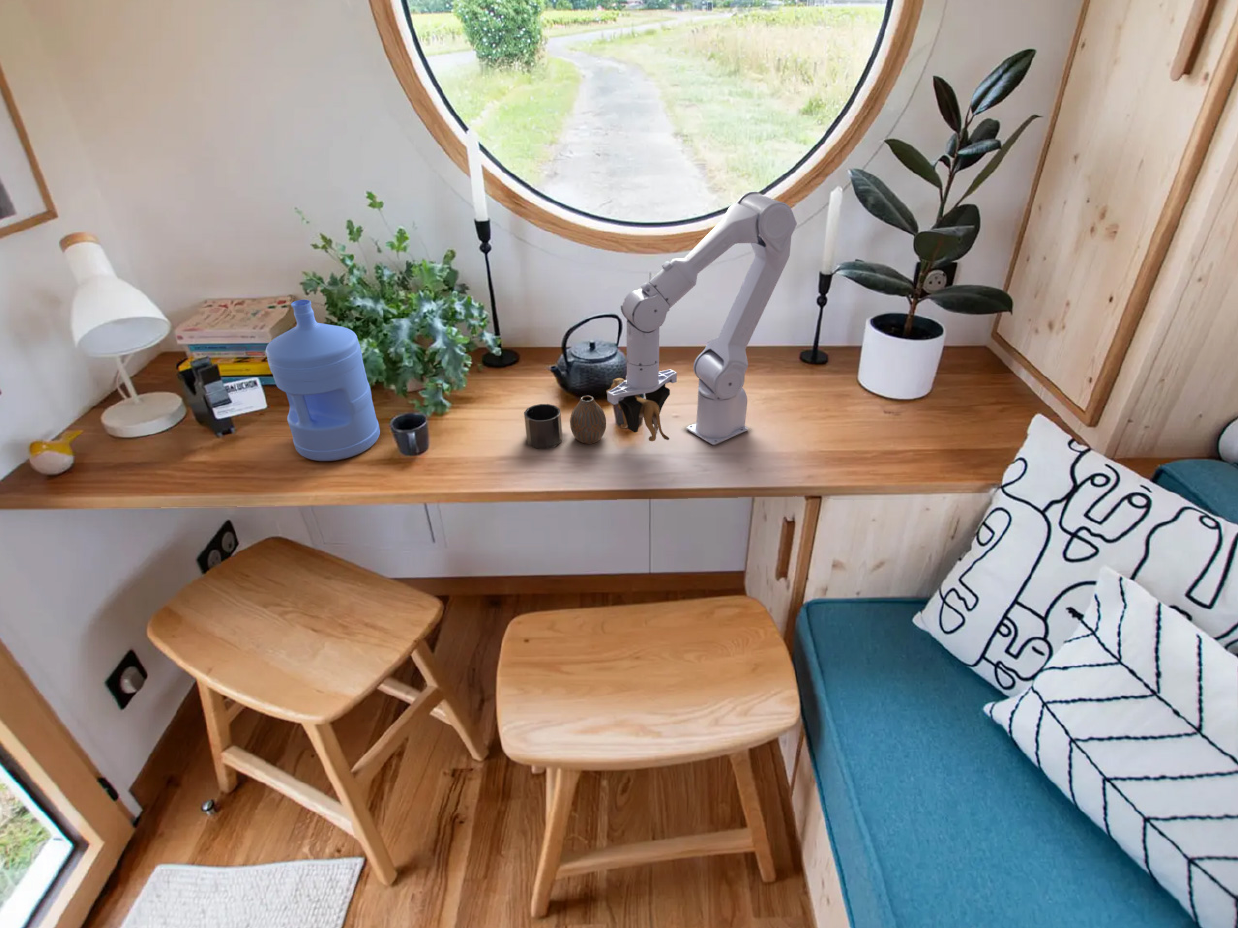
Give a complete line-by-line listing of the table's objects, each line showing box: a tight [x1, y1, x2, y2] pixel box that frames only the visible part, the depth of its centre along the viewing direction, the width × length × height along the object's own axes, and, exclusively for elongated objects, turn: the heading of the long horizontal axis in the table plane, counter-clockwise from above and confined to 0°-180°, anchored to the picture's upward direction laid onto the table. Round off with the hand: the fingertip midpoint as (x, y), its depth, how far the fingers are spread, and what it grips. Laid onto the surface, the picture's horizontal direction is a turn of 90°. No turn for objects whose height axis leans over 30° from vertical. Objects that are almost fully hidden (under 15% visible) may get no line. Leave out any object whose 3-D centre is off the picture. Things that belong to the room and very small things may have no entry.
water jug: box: [265, 299, 381, 462], centre depth 125 cm, size 16×16×28 cm
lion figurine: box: [606, 377, 670, 442], centre depth 127 cm, size 15×5×9 cm, turn 48°
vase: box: [569, 395, 607, 445], centre depth 130 cm, size 7×7×9 cm
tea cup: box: [523, 403, 563, 450], centre depth 131 cm, size 7×7×6 cm
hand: (642, 426), depth 128 cm, fingers closed on lion figurine, 4 cm apart
